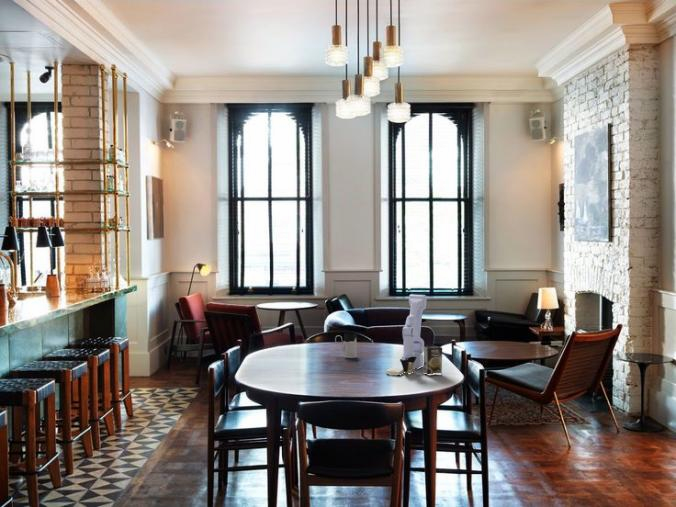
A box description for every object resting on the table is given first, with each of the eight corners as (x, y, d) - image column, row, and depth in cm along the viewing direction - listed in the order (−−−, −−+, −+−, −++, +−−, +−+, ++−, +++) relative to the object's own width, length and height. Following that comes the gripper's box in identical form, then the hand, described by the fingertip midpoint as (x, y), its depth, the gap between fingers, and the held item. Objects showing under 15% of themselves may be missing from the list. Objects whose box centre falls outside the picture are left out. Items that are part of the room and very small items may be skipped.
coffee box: (427, 376, 380) (427, 348, 379) (423, 373, 386) (423, 346, 386) (442, 375, 382) (442, 347, 382) (437, 373, 389) (438, 345, 388)
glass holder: (357, 357, 430) (357, 334, 430) (334, 357, 430) (335, 334, 430) (356, 355, 439) (357, 332, 438) (335, 354, 439) (335, 332, 439)
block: (406, 372, 391) (407, 361, 391) (413, 373, 388) (414, 362, 388) (403, 373, 387) (403, 363, 387) (410, 374, 385) (410, 364, 384)
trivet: (391, 372, 390) (391, 367, 390) (404, 373, 386) (404, 369, 386) (385, 374, 383) (385, 370, 383) (398, 376, 379) (398, 371, 379)
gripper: (409, 349, 378) (409, 373, 379) (419, 345, 391) (419, 368, 392) (398, 348, 382) (398, 372, 383) (408, 344, 395) (408, 367, 395)
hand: (408, 370), depth 387 cm, fingers open, 7 cm apart
